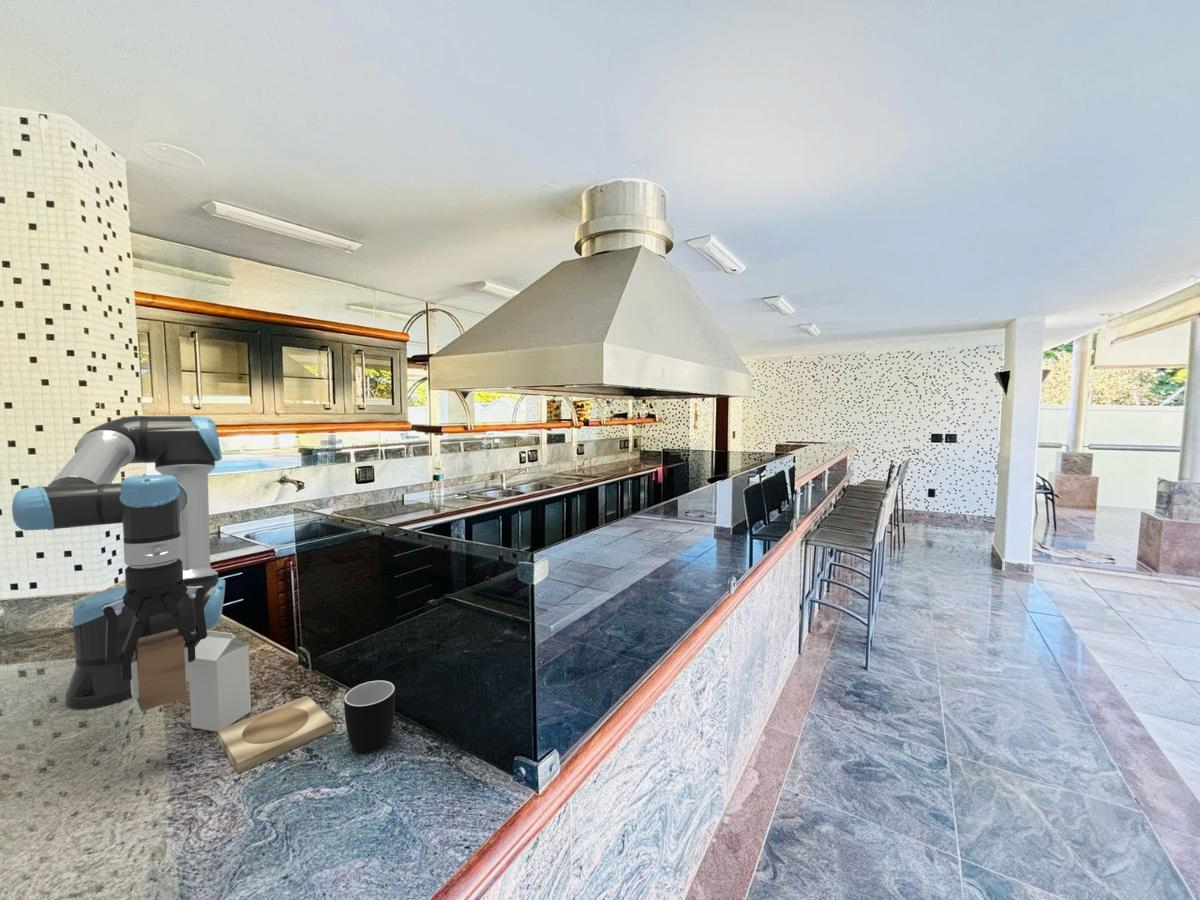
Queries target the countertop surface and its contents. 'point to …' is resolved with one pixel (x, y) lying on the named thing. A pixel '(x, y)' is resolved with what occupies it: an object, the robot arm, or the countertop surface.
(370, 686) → the mug
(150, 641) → the block
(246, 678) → the milk carton
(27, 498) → the robot arm
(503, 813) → the countertop surface
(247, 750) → the board
